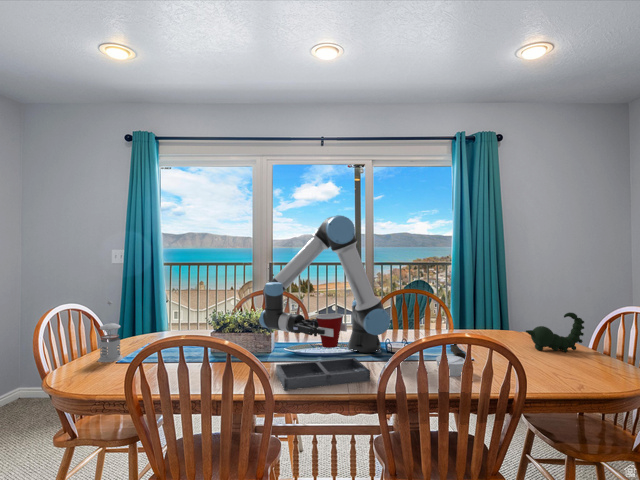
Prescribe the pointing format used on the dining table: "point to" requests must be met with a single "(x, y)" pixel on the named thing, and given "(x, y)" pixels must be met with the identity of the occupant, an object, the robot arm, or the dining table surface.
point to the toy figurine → (557, 336)
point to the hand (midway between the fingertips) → (339, 330)
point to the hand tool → (457, 351)
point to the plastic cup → (333, 323)
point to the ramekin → (453, 364)
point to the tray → (321, 373)
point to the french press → (110, 343)
